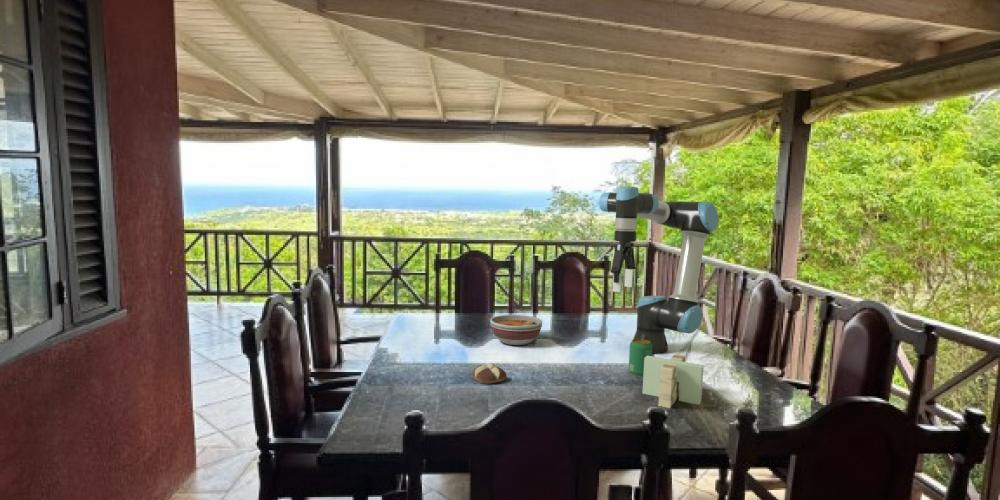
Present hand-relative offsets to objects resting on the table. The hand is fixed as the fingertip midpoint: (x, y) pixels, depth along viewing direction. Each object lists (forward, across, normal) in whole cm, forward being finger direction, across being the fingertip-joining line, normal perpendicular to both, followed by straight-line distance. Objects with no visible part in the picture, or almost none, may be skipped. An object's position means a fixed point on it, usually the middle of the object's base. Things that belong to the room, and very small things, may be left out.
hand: (622, 289), depth 197 cm
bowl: (+32, -18, -52) cm, 64 cm away
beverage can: (+32, -7, +6) cm, 33 cm away
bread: (+32, +31, -36) cm, 58 cm away
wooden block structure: (+32, +12, +22) cm, 40 cm away
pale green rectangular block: (+32, +12, +22) cm, 40 cm away
